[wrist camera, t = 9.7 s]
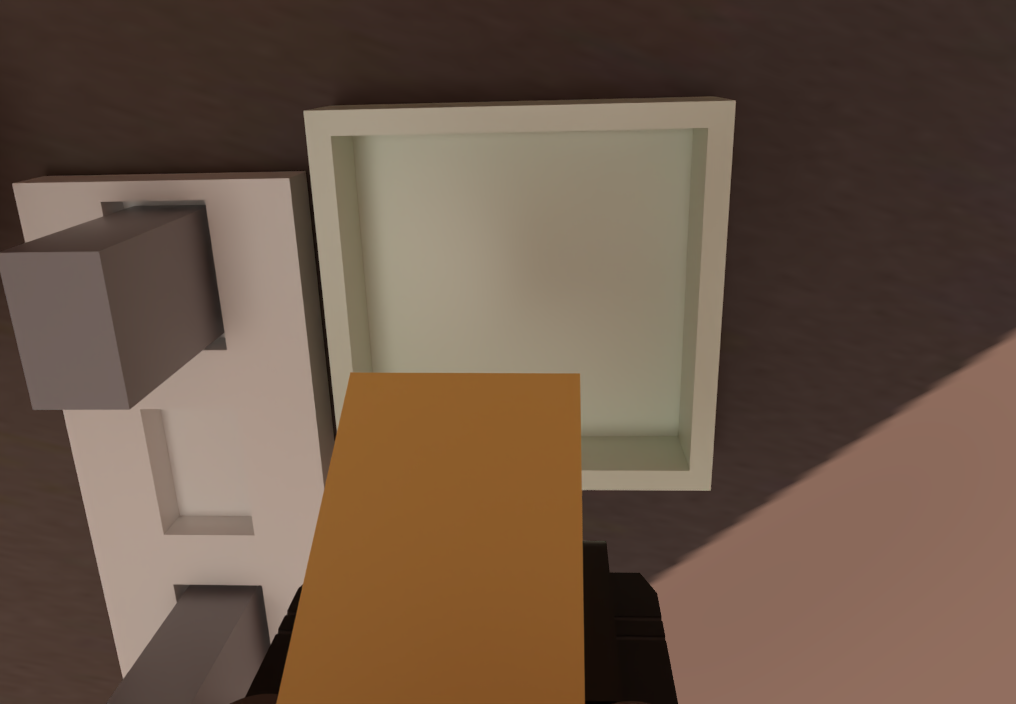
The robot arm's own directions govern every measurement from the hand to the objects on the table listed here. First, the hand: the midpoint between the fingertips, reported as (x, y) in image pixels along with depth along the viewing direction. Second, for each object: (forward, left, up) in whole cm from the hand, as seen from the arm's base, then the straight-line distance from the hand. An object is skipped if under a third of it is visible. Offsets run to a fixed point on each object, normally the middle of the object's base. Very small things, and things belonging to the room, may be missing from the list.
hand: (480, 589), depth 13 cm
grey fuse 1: (-1, -13, -19) cm, 23 cm away
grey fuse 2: (+15, -13, -19) cm, 27 cm away
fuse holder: (+7, -13, -19) cm, 24 cm away
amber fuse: (+4, 0, -1) cm, 4 cm away
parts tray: (0, 0, -19) cm, 19 cm away
